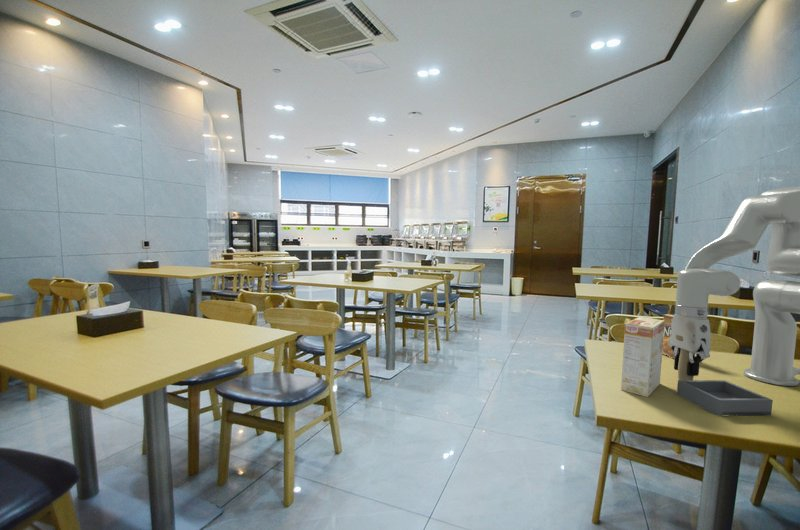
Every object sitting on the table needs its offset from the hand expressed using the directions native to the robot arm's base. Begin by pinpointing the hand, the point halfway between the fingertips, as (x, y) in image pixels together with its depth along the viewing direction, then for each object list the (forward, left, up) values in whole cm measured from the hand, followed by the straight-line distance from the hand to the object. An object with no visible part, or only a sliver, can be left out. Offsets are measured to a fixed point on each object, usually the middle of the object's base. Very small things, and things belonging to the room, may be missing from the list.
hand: (685, 371), depth 114 cm
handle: (0, 0, -4) cm, 4 cm away
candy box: (-19, -27, -4) cm, 33 cm away
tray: (+1, +13, -4) cm, 14 cm away
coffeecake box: (+15, +1, -4) cm, 15 cm away
